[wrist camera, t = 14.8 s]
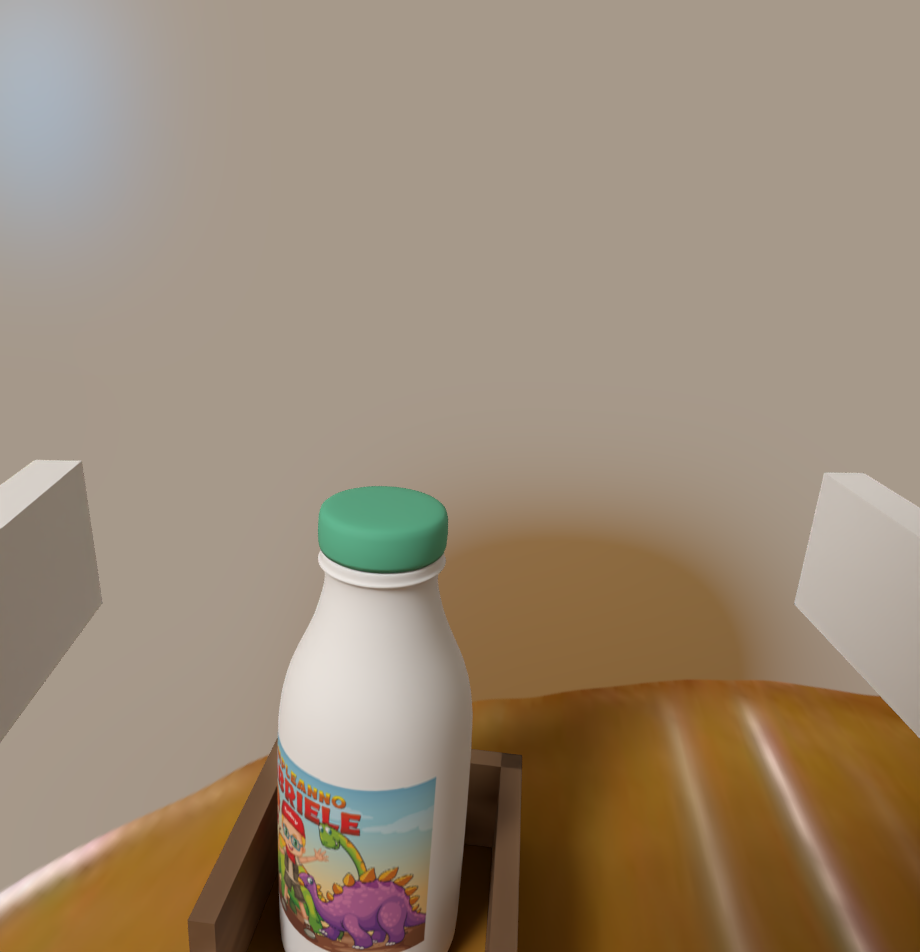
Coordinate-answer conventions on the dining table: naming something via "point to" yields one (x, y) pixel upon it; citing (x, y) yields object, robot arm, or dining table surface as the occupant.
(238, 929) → the walnut U-rest
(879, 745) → the dining table surface
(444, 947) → the milk bottle
